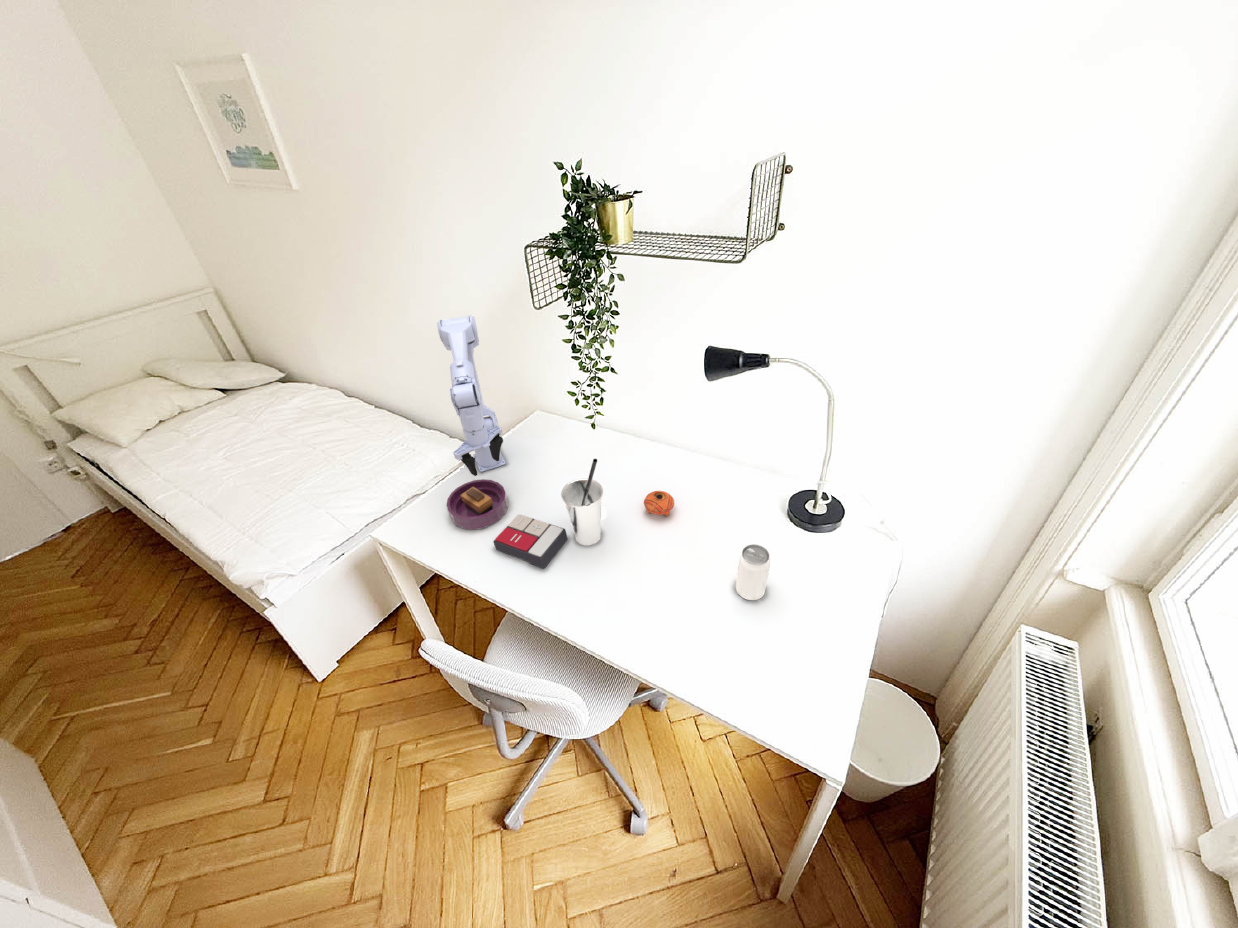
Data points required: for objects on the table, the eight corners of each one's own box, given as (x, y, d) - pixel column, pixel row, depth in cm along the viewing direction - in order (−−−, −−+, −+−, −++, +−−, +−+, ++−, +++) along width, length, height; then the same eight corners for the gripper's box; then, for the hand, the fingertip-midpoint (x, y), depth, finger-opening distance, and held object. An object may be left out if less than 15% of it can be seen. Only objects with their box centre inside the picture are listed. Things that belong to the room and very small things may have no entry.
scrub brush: (464, 507, 145) (459, 492, 142) (476, 498, 148) (472, 483, 144) (482, 519, 141) (477, 504, 138) (495, 510, 144) (490, 495, 140)
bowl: (446, 502, 148) (441, 490, 145) (499, 484, 153) (496, 472, 150) (457, 538, 137) (452, 526, 134) (515, 518, 142) (511, 506, 139)
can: (744, 573, 123) (749, 538, 115) (769, 587, 119) (776, 551, 112) (730, 592, 119) (734, 556, 111) (756, 606, 116) (762, 570, 108)
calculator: (518, 511, 138) (565, 526, 132) (521, 523, 141) (568, 538, 134) (491, 539, 131) (540, 557, 124) (495, 551, 134) (543, 569, 127)
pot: (645, 498, 144) (650, 480, 140) (672, 507, 144) (678, 489, 139) (638, 518, 138) (643, 499, 134) (666, 527, 137) (673, 509, 133)
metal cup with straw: (607, 556, 129) (596, 461, 111) (563, 551, 131) (545, 457, 113) (615, 524, 138) (607, 431, 119) (574, 520, 140) (559, 428, 121)
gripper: (460, 445, 129) (473, 486, 138) (505, 417, 137) (515, 458, 146) (443, 435, 133) (456, 476, 141) (488, 409, 141) (498, 449, 150)
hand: (485, 466), depth 144 cm, fingers open, 7 cm apart
